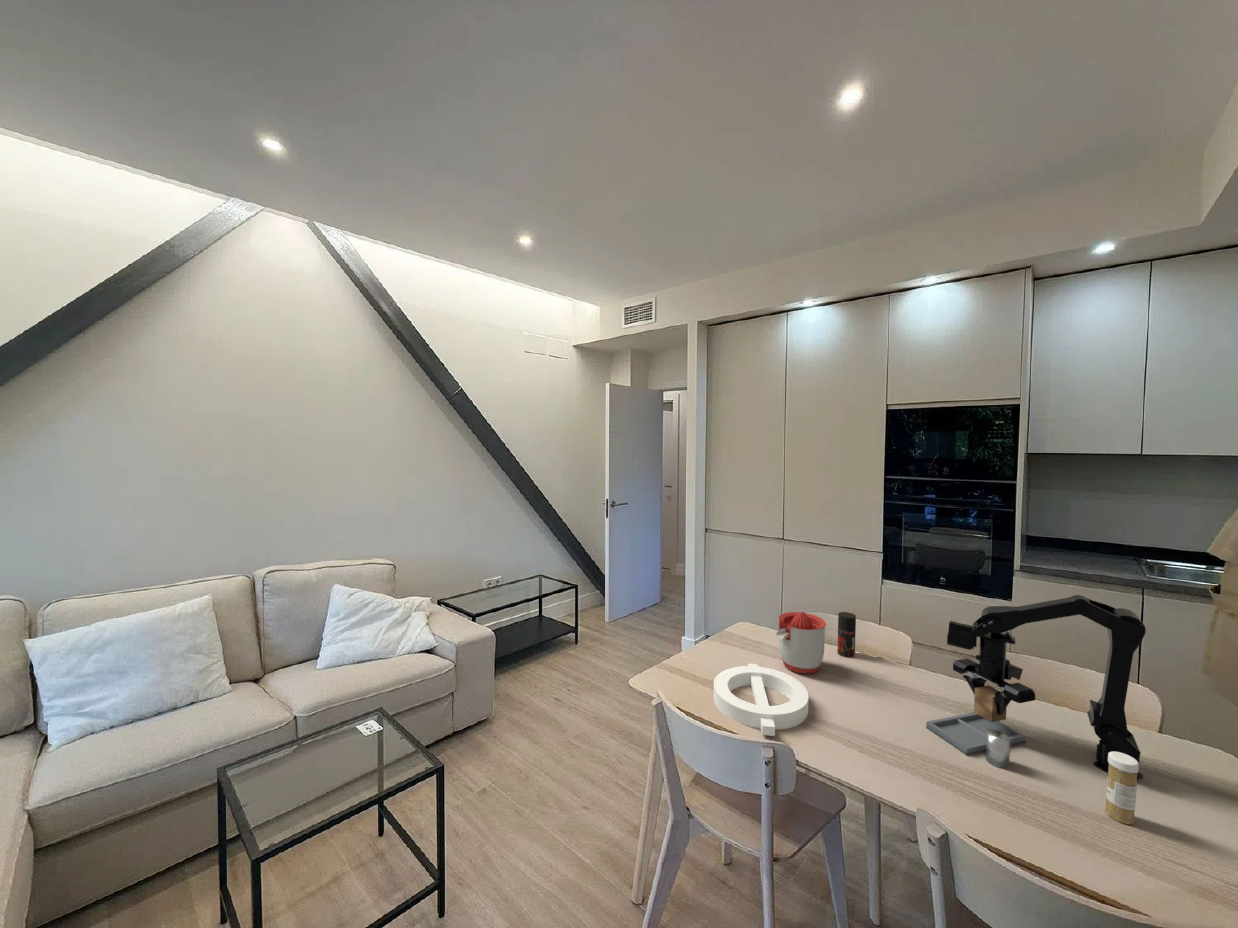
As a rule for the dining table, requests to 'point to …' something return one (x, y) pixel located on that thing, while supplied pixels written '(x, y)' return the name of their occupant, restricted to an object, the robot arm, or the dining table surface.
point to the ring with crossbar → (761, 698)
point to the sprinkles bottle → (1121, 787)
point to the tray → (971, 732)
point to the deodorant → (846, 634)
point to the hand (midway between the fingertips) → (990, 709)
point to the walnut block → (987, 704)
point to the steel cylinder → (998, 749)
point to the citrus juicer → (801, 641)
